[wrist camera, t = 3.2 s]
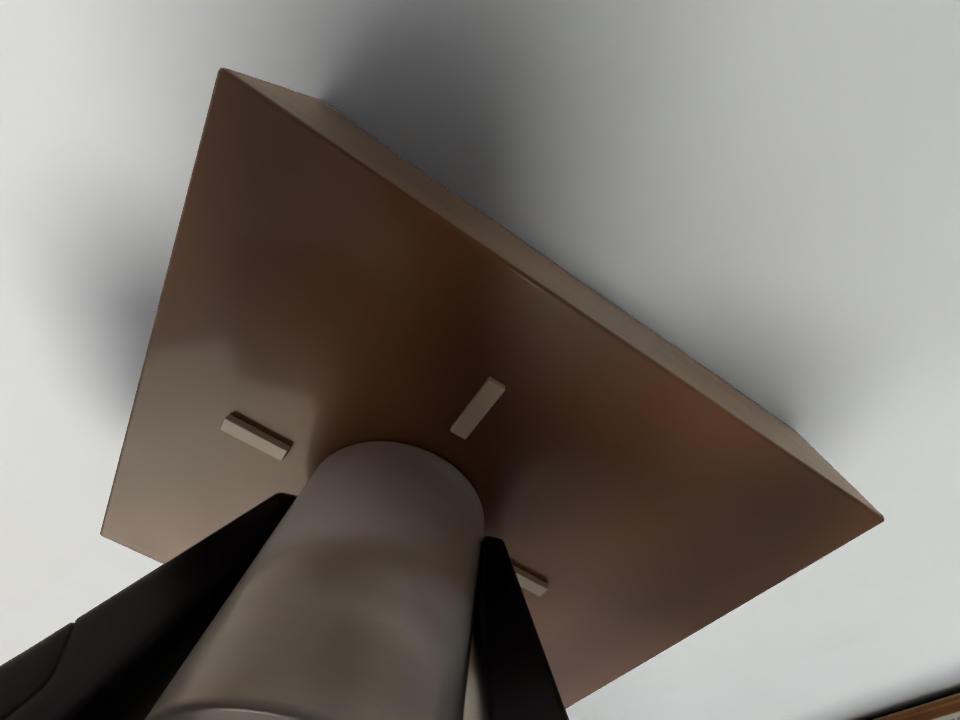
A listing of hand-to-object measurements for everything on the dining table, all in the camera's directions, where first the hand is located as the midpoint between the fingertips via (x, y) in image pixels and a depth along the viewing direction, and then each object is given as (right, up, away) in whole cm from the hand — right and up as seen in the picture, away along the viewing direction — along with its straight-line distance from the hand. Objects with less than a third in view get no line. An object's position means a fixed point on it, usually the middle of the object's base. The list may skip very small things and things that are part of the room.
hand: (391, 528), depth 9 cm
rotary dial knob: (0, 0, 0) cm, 0 cm away
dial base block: (+1, +1, +3) cm, 4 cm away
